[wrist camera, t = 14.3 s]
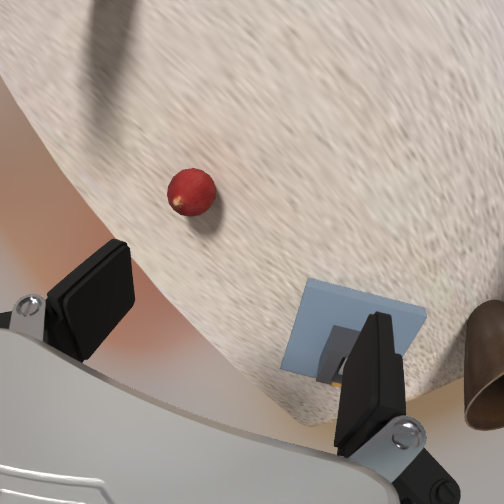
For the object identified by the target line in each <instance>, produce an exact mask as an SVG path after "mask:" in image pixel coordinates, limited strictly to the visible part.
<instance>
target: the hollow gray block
mask: <svg viewBox="0 0 504 504" xmlns="http://www.w3.org/2000/svg"><path fill="white" fill-rule="evenodd" d="M360 332H361V331H357V330H353V329H349V328H345V327H341V326H337V325H333V327H332V330H331V332H330V335H329V337H328V339H327V342H326V344H325V346H324V349H323V351H322V353H321V355H320V359H319V365H318V371H317V377H316V381H318V382H322V383H326V384H331V385H332V386H337V387H341V384H342V375H340V374H338V367H339V364H340V362H341V360H342V358H343V357H346V358H348V356H349V354H350V352H351V350H352V348H353V346H354V344H355V342H356V340H357V338H358V336H359V334H360Z"/></svg>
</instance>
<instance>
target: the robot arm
mask: <svg viewBox="0 0 504 504" xmlns="http://www.w3.org/2000/svg"><path fill="white" fill-rule="evenodd" d="M47 296H48V298H47V299H46V300H45V299H44V298H43V297H42V296H40V295H37V294H29V295H25V296H23V297H21V298H20V299H19V300H17V302H16V303H15V304H14V307H13V310H12V311H10V312H4V313H0V504H459V501H460V489H459V485H458V484H457V483H456V481H455V480H454V479H453V478H452V477H451V476H450V475H449V474H448V473H447V472H446V471H445V469H444V468H443V467H442V466H441V465H440V464H439V463H438V462H437V461H436V460H435V459H434V458H433V457H432V456H431V455H430V453H429V452H428V451H427V450H426V449H425V448H424V446H425V444H426V439H427V437H426V431H425V429H424V427H423V426H422V425H421V423H420V422H419V421H418V420H416V419H415V418H412V417H410V416H406V401H405V383H404V370H403V359H402V355H401V354H398V353H395V346H394V335H393V325H392V317H391V315H390V314H386V313H382V312H378V311H376V312H375V313H374V315H373V314H369V316H368V317H367V320H366V322H365V324H364V326H363V328H362V330H361V332H360V334H359V336H358V338H357V340H356V342H355V344H354V346H353V348H352V350H351V352H350V354H349V356H348V358H347V360H346V362H345V364H344V368H343V374H342V384H341V393H340V402H339V410H338V418H337V425H336V432H335V439H334V447H338V451H337V455H335V454H331V453H327V452H323V451H318V450H315V449H311V448H307V447H303V446H299V445H295V444H291V443H287V442H283V441H279V440H276V439H272V438H269V437H265V436H261V435H258V434H254V433H251V432H248V431H244V430H241V429H238V428H234V427H231V426H228V425H225V424H222V423H219V422H216V421H213V420H210V419H208V418H204V417H202V416H199V415H197V414H194V413H191V412H188V411H186V410H183V409H180V408H178V407H175V406H173V405H170V404H168V403H165V402H163V401H161V400H158V399H156V398H154V397H151V396H149V395H147V394H144V393H142V392H140V391H138V390H135V389H133V388H131V387H129V386H126V385H125V384H122V383H120V382H118V381H116V380H114V379H112V378H110V377H108V376H106V375H104V374H102V373H100V372H98V371H96V370H94V369H92V368H90V367H88V366H86V365H84V364H83V363H82V362H83V361H84V360H87V359H89V358H90V357H91V355H92V354H93V353H94V352H95V351H96V349H97V348H98V347H99V346H100V344H101V343H102V342H103V341H104V340H105V338H106V337H107V336H108V335H109V334H110V332H111V331H112V330H113V329H114V328H115V327H116V325H117V324H118V323H119V322H120V321H121V319H122V318H123V317H124V316H125V315H126V314H127V312H128V311H129V310H130V309H131V308H132V307H133V305H134V302H135V294H134V285H133V276H132V266H131V254H130V248H129V247H128V246H127V243H126V242H124V241H120V240H117V239H112V240H110V241H109V242H107V243H106V244H105V245H104V246H103V247H101V248H100V249H99V250H97V251H96V252H95V253H94V254H93V255H91V256H90V257H89V258H88V259H86V260H85V261H84V262H83V263H82V264H80V265H79V266H78V267H77V268H76V269H74V270H73V271H72V272H71V273H70V274H68V275H67V276H66V277H65V278H64V279H63V280H62V281H60V282H59V283H58V284H57V285H56V286H55V287H54V288H53V289H51V290H50V291H49V292H48V293H47ZM341 456H343V457H341Z"/></svg>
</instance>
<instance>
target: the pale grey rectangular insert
mask: <svg viewBox="0 0 504 504" xmlns="http://www.w3.org/2000/svg"><path fill="white" fill-rule="evenodd" d="M346 360H347V358H346V357H343V358H342V360H341V362H340V364H339V367H338V374H340V375H342V374H343V368H344V364H345V362H346Z"/></svg>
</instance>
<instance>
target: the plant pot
mask: <svg viewBox="0 0 504 504" xmlns="http://www.w3.org/2000/svg"><path fill="white" fill-rule="evenodd" d="M464 402H465V403H464V404H465V422H466V423H467V425H468V426H469V427H471V428H473V429H475V430H482V431H488V430H495V429H500V428H503V427H504V303H503V302H501V301H499V300H491V301H487V302H485V303H483V304H481V305H480V306H478V307H477V308H476V309H475V310H474V311H473V313H472V314H471V316H470V318H469V320H468V326H467V334H466V344H465V361H464Z"/></svg>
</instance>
